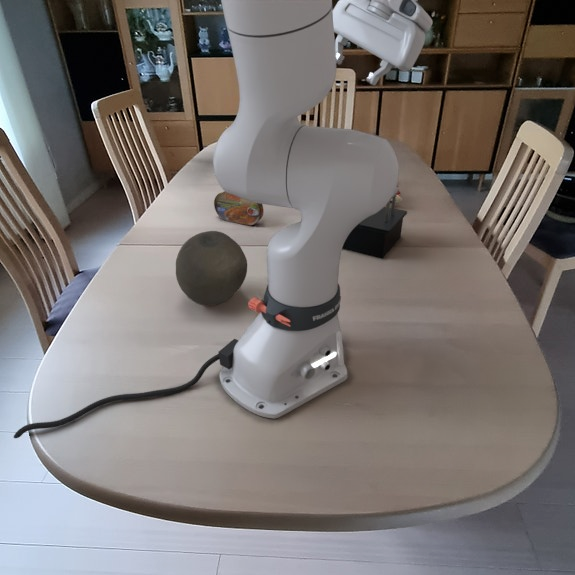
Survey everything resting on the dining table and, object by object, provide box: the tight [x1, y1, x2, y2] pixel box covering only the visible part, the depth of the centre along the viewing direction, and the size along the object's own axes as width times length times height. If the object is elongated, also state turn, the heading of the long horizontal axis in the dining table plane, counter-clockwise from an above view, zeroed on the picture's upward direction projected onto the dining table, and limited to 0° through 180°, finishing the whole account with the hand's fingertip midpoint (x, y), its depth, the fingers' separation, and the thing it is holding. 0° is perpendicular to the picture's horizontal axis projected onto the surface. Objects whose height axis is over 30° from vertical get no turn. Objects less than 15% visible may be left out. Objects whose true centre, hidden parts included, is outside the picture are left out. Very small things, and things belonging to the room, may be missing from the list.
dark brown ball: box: [175, 230, 248, 306], centre depth 90 cm, size 14×14×15 cm
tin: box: [213, 190, 264, 226], centre depth 124 cm, size 15×3×8 cm, turn 62°
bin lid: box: [356, 186, 408, 234], centre depth 108 cm, size 16×13×8 cm
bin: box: [342, 218, 404, 260], centre depth 113 cm, size 16×13×7 cm
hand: (352, 72), depth 89 cm, fingers open, 8 cm apart
